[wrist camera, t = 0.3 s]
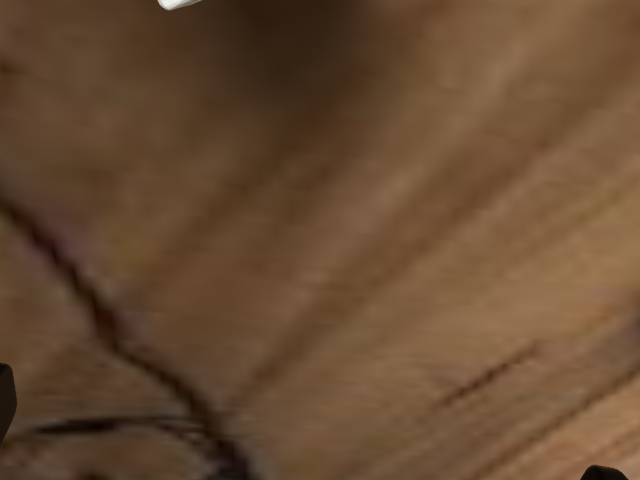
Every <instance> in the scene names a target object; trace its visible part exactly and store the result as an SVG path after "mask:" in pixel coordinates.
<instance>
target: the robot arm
mask: <svg viewBox="0 0 640 480" xmlns="http://www.w3.org/2000/svg"><path fill="white" fill-rule="evenodd" d="M16 407H17V398H16V391H15V384H14V377H13V371H12V368H11V367H10V366H9V365H7V364H4V363H0V446H1V444H2V442H3V440H4V438H5V435H6V433H7V431H8V429H9V426H10V424H11V422H12V420H13V417H14V415H15V412H16ZM580 480H628V479H627V478H626V476H625V475H624V474H623V473H622V472H620V471H619V470H617V469H615V468H610V467H604V466H598V465H592V466H590V467H588V468H587V470H586V471H585V473H584V474H583V476H582V477H581V479H580Z"/></svg>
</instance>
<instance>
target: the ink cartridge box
mask: <svg viewBox="0 0 640 480" xmlns="http://www.w3.org/2000/svg"><path fill="white" fill-rule="evenodd" d="M199 1H202V0H158V2H159V4H160V5H161V7H163V8H164V9H166V10H173V9H177V8H180V7H184V6H189V5H192V4H194V3H197V2H199Z"/></svg>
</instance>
